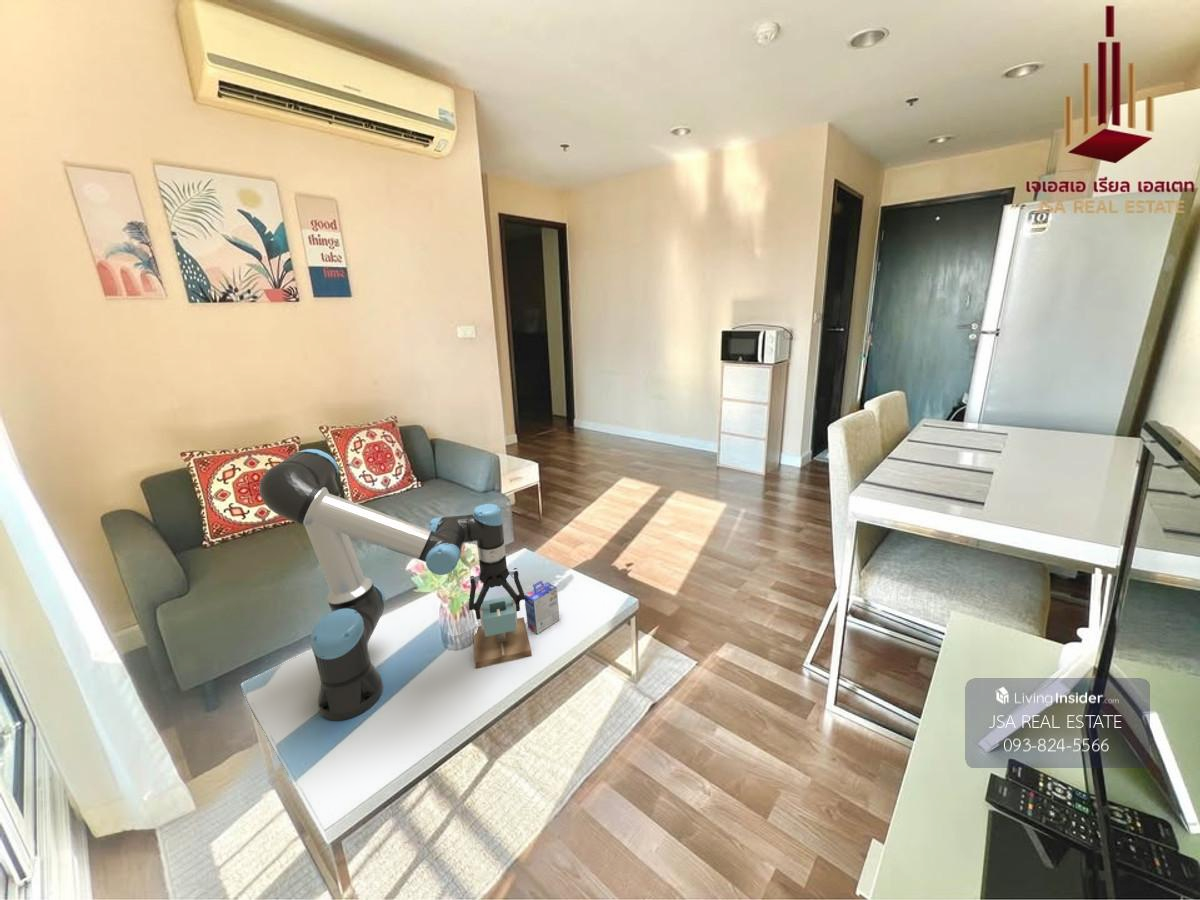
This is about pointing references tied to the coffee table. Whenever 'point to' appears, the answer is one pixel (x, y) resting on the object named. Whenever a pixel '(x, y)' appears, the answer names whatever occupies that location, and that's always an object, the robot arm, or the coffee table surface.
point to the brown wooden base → (501, 646)
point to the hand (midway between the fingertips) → (499, 623)
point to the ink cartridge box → (541, 607)
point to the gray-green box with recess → (498, 616)
